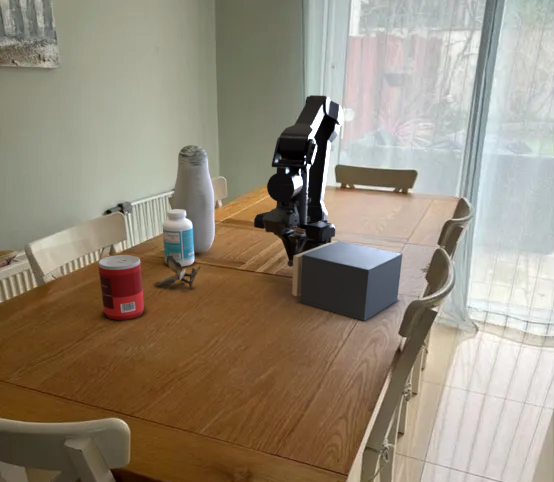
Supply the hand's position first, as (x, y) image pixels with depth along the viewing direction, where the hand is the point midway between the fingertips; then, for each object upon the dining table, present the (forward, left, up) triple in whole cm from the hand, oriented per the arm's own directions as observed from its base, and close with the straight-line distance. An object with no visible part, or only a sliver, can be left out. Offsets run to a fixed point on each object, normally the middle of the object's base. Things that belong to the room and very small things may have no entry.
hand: (292, 262), depth 125 cm
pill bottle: (-32, -5, -6) cm, 33 cm away
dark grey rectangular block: (+16, 0, -6) cm, 16 cm away
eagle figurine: (-20, -17, -6) cm, 27 cm away
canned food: (-16, -35, -6) cm, 39 cm away
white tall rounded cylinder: (-36, +5, -6) cm, 37 cm away
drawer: (+10, 0, -5) cm, 11 cm away
